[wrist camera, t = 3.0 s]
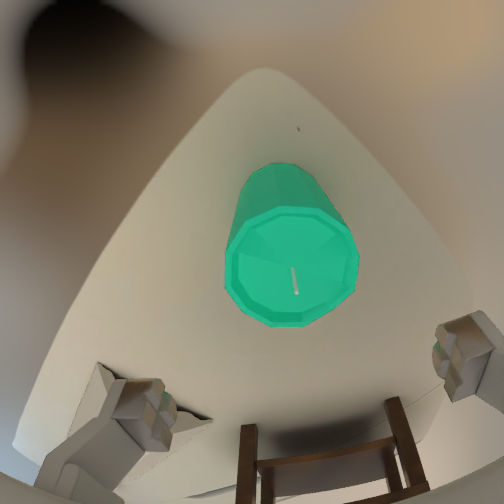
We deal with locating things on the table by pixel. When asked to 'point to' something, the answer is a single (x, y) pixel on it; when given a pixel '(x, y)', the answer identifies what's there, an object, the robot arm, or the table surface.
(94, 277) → the table surface
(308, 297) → the candle
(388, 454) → the stand
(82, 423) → the molding piece
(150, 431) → the robot arm
